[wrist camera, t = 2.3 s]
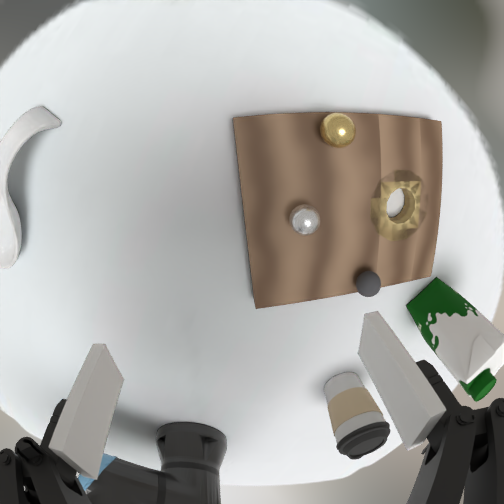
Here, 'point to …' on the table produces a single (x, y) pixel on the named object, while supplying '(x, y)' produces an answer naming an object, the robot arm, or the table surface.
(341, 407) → the coffee cup
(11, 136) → the white curved piece
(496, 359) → the milk carton
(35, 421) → the table surface
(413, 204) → the board
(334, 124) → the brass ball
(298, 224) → the steel ball
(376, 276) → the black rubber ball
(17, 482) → the robot arm
